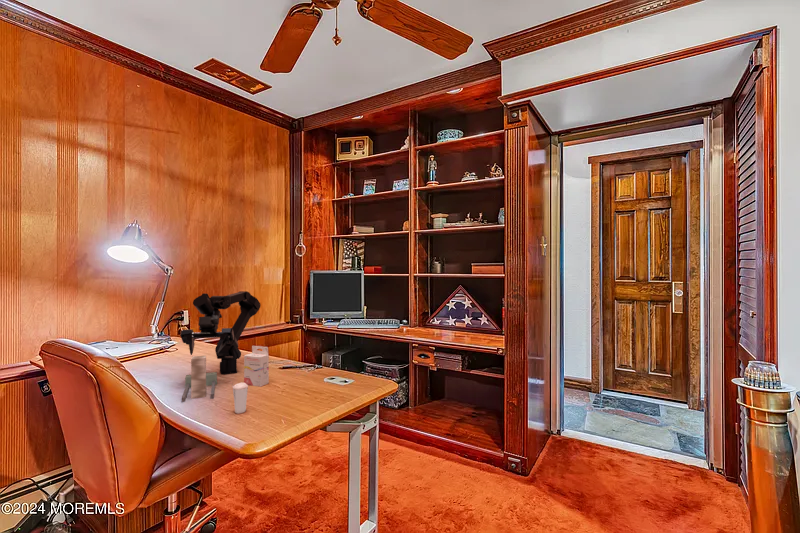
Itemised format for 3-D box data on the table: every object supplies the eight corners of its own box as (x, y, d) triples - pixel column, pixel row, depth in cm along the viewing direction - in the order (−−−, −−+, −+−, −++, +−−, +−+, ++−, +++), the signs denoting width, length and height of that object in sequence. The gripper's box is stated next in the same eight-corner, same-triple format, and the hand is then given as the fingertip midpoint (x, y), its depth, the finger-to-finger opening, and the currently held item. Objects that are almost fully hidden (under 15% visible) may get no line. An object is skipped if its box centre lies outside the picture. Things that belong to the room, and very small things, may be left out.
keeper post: (206, 393, 145) (206, 355, 145) (205, 397, 141) (205, 357, 141) (192, 395, 143) (192, 356, 143) (191, 398, 139) (191, 359, 139)
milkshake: (232, 409, 128) (232, 378, 128) (249, 409, 128) (249, 378, 128) (228, 414, 123) (227, 383, 123) (245, 414, 124) (245, 382, 124)
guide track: (216, 381, 160) (216, 371, 160) (215, 398, 139) (215, 386, 139) (186, 385, 155) (186, 374, 155) (179, 402, 135) (179, 390, 135)
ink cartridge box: (243, 384, 155) (243, 347, 155) (251, 381, 160) (251, 345, 160) (261, 386, 152) (261, 349, 152) (269, 383, 157) (269, 346, 157)
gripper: (181, 309, 153) (172, 342, 142) (232, 307, 157) (227, 340, 147) (187, 326, 161) (179, 359, 150) (236, 324, 165) (231, 356, 154)
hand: (204, 353), depth 150 cm, fingers open, 9 cm apart
